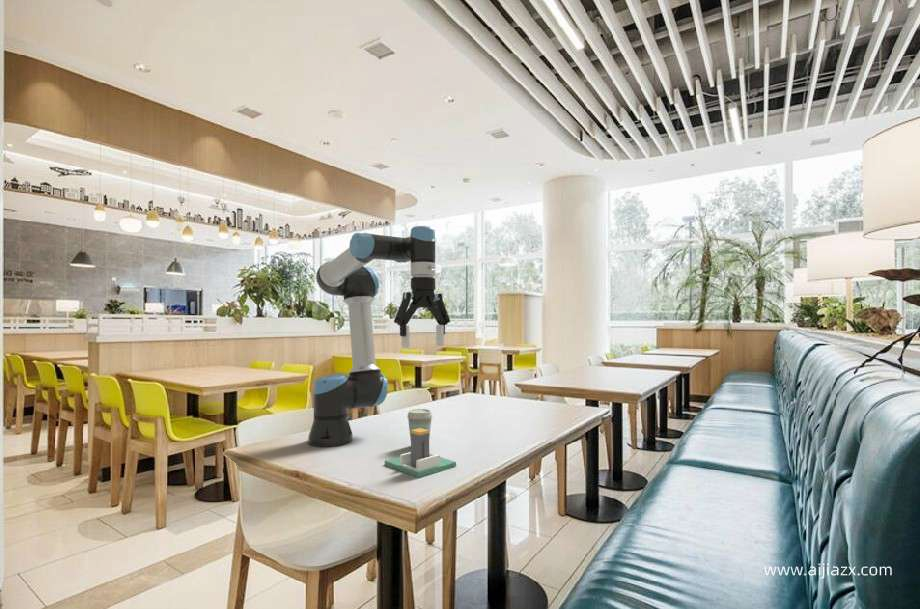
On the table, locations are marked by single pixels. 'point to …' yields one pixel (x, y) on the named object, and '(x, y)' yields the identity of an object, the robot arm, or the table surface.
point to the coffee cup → (419, 419)
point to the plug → (419, 445)
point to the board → (420, 464)
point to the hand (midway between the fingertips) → (423, 346)
